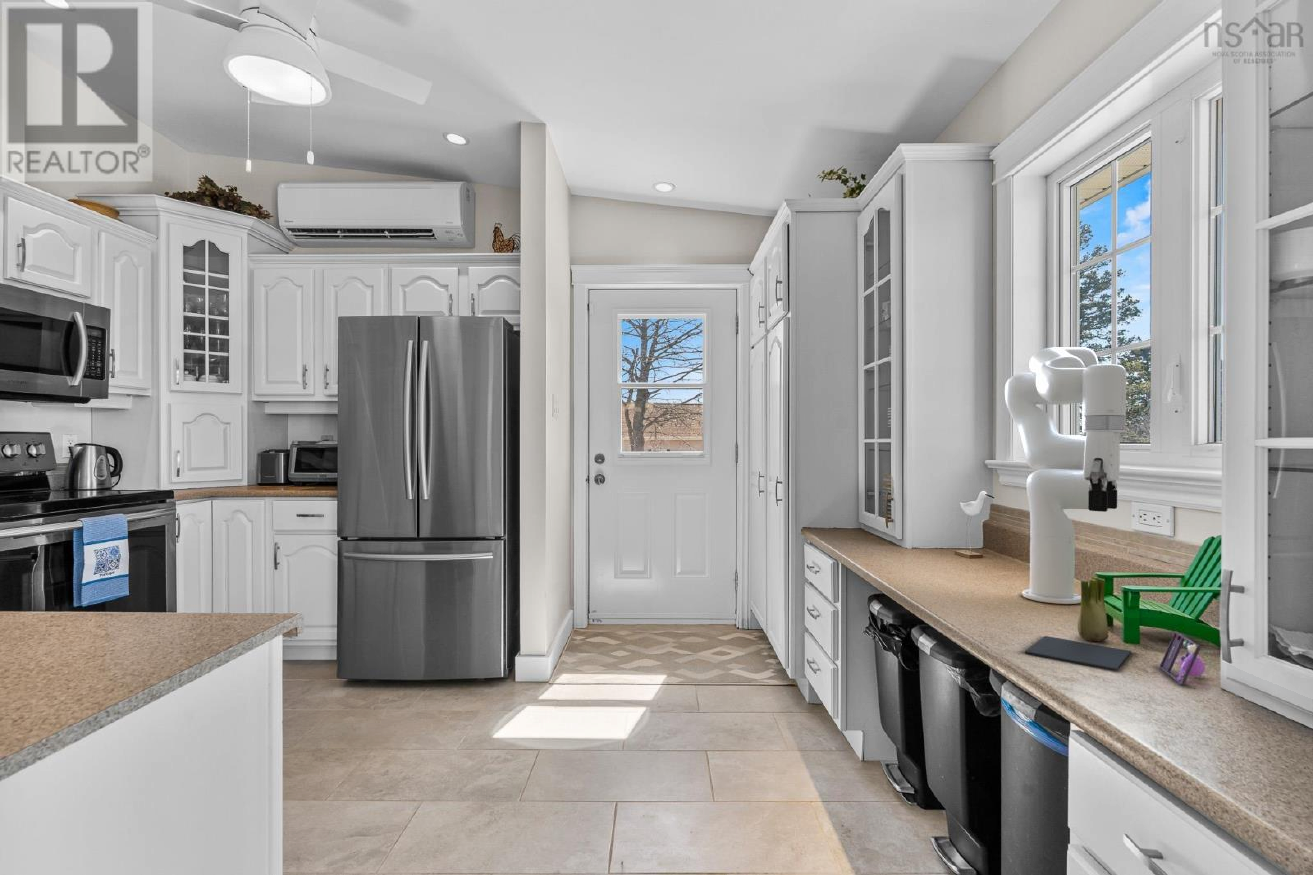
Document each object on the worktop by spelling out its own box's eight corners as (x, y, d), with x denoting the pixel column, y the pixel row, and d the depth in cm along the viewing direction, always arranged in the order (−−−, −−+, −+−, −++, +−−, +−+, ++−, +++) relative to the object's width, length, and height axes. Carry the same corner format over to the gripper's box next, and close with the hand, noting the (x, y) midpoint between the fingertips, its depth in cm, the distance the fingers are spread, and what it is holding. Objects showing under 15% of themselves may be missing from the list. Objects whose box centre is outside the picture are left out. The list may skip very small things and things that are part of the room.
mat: (1045, 637, 137) (1045, 635, 137) (1131, 653, 128) (1131, 650, 128) (1024, 653, 127) (1024, 651, 127) (1116, 671, 117) (1116, 668, 117)
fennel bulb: (1082, 642, 134) (1083, 579, 134) (1070, 635, 139) (1071, 574, 139) (1115, 644, 133) (1115, 580, 133) (1101, 637, 138) (1102, 575, 138)
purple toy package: (1170, 629, 119) (1193, 643, 110) (1204, 642, 117) (1230, 658, 109) (1154, 665, 120) (1175, 682, 111) (1188, 678, 118) (1212, 697, 109)
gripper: (1091, 426, 153) (1091, 506, 153) (1072, 424, 140) (1071, 510, 140) (1133, 426, 148) (1132, 508, 148) (1117, 424, 135) (1116, 513, 135)
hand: (1103, 509), depth 144 cm, fingers open, 9 cm apart
